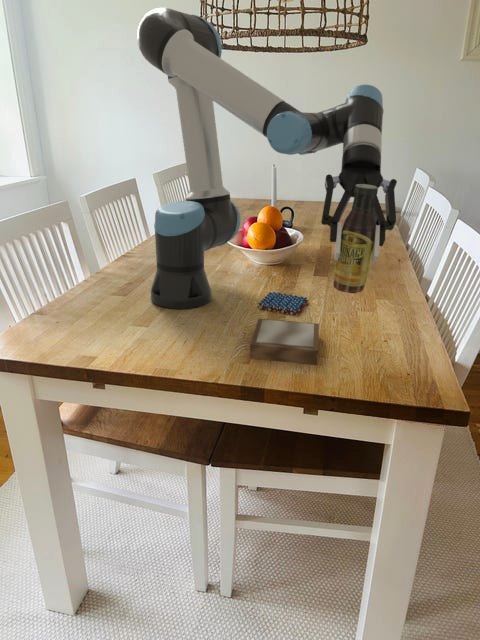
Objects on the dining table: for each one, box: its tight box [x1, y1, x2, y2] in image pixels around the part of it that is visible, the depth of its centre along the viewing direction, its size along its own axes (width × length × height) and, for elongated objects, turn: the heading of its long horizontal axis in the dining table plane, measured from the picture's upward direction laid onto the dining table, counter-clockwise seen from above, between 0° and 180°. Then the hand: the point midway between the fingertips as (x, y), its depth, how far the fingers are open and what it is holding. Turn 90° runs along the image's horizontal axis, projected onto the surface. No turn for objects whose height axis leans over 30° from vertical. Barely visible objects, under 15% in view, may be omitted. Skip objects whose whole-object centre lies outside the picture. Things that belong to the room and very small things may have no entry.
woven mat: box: [257, 291, 310, 316], centre depth 122 cm, size 10×11×2 cm
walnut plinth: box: [249, 318, 320, 366], centre depth 100 cm, size 13×13×3 cm
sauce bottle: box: [332, 184, 379, 294], centre depth 92 cm, size 6×6×20 cm
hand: (356, 258), depth 89 cm, fingers closed on sauce bottle, 6 cm apart
